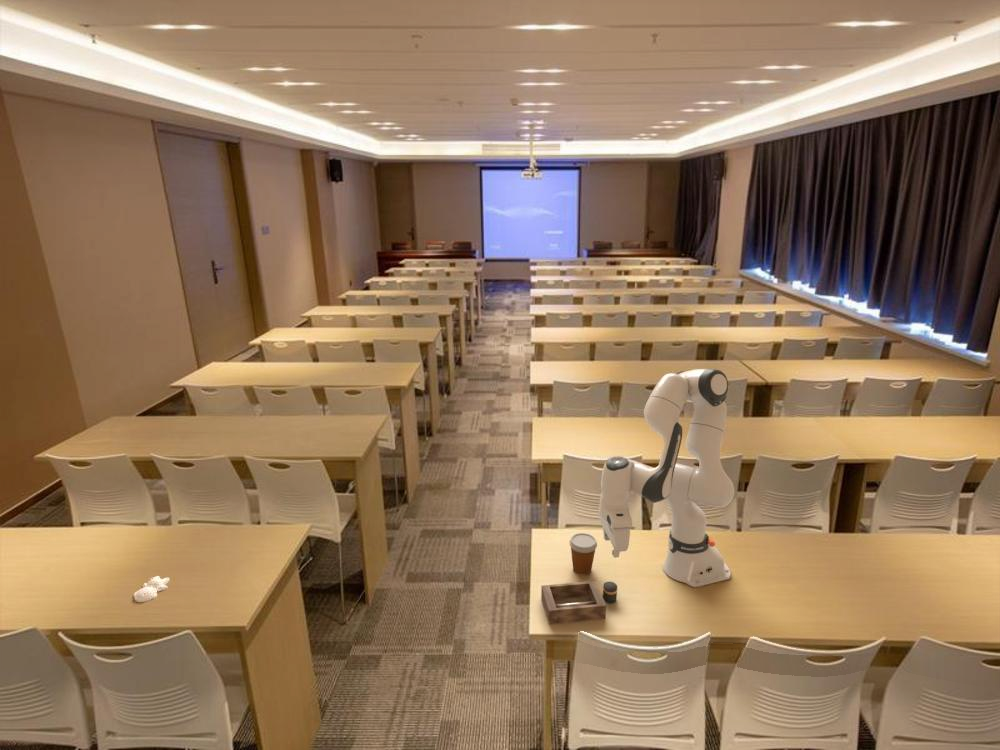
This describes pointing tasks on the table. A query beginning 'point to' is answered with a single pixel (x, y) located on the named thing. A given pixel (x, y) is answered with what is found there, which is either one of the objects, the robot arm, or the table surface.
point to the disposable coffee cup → (582, 552)
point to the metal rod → (575, 604)
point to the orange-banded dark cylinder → (609, 592)
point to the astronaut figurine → (151, 589)
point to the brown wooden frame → (573, 612)
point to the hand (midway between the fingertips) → (611, 547)
